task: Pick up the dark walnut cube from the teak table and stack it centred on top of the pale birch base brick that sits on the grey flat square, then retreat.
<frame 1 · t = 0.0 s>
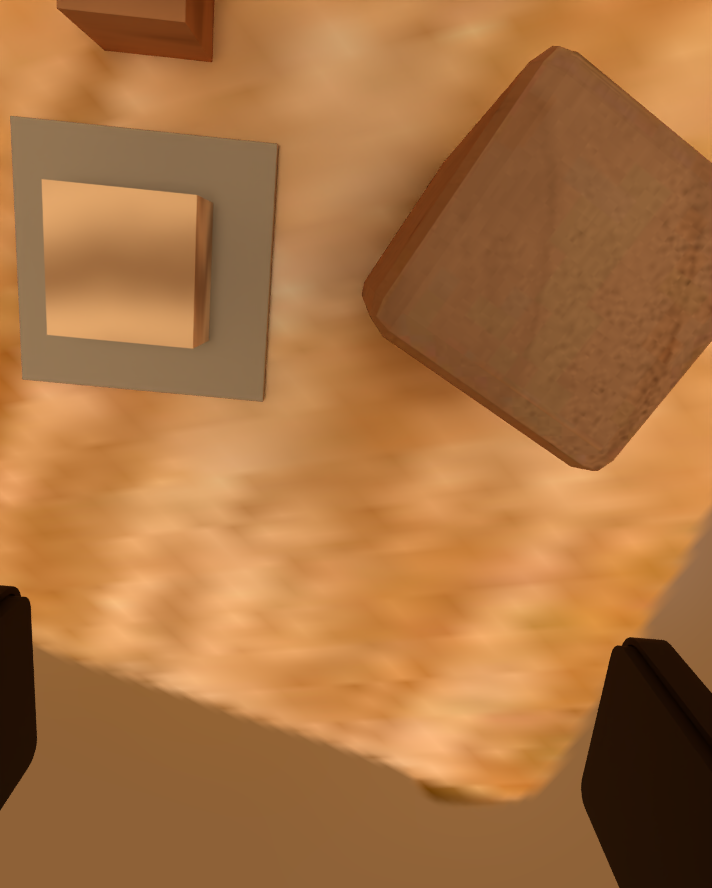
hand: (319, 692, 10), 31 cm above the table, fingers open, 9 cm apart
birch base brick: (143, 267, 37), point 1 cm above the table, touching grey flat square
wooden block: (467, 273, 39), on the table
grey flat square: (148, 267, 38), on the table
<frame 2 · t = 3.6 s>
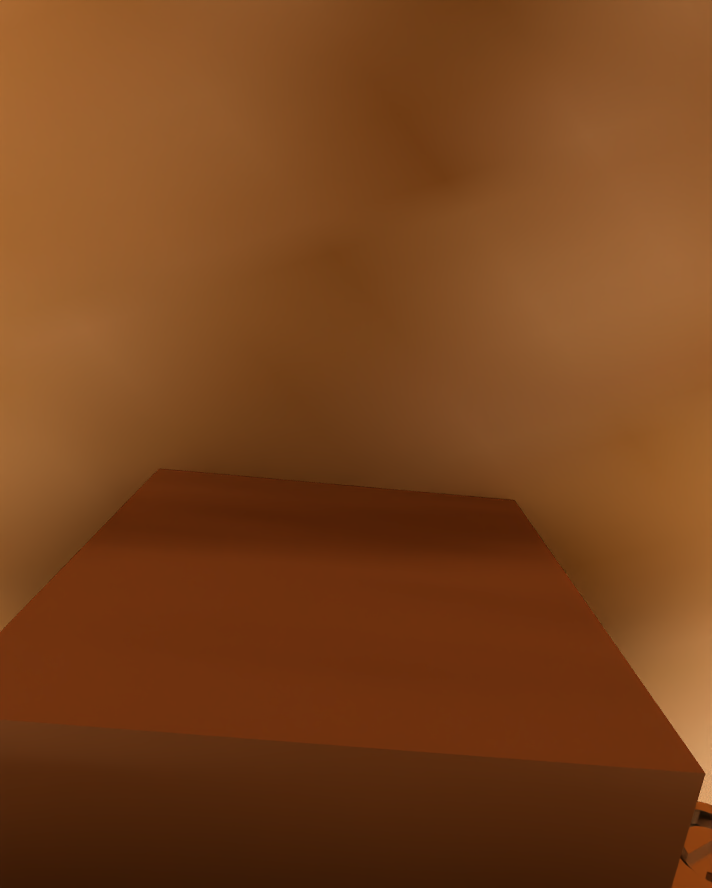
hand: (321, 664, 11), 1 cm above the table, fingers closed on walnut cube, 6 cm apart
walnut cube: (323, 640, 11), on the table, touching gripper
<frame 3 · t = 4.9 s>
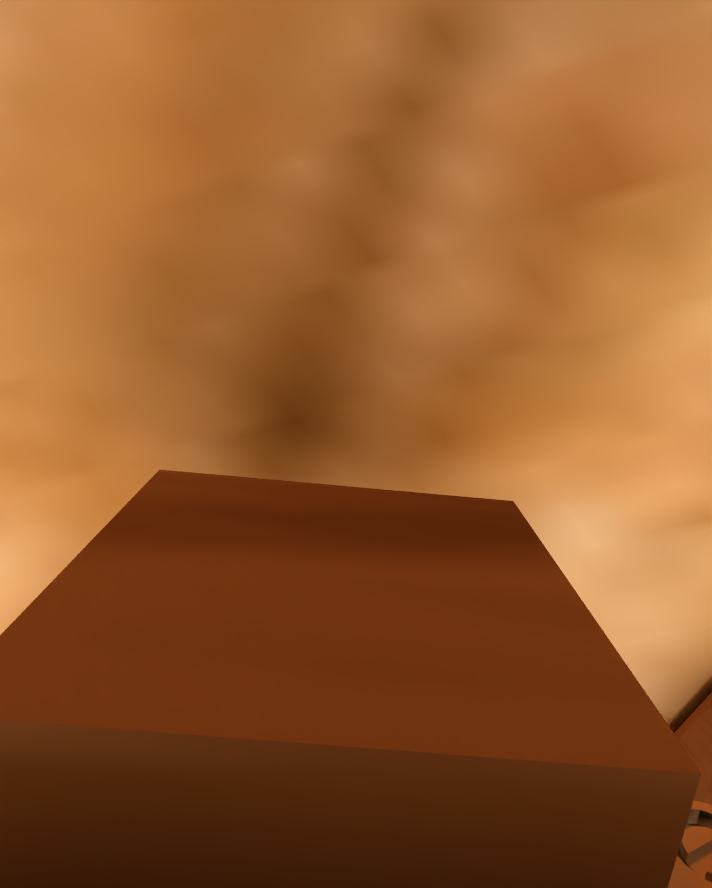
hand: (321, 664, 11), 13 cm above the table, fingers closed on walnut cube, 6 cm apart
walnut cube: (323, 641, 11), point 12 cm above the table, touching gripper
when the fingers open (7 cm above the table, at t = 8.6 s): walnut cube drops 1 cm, resting on birch base brick.
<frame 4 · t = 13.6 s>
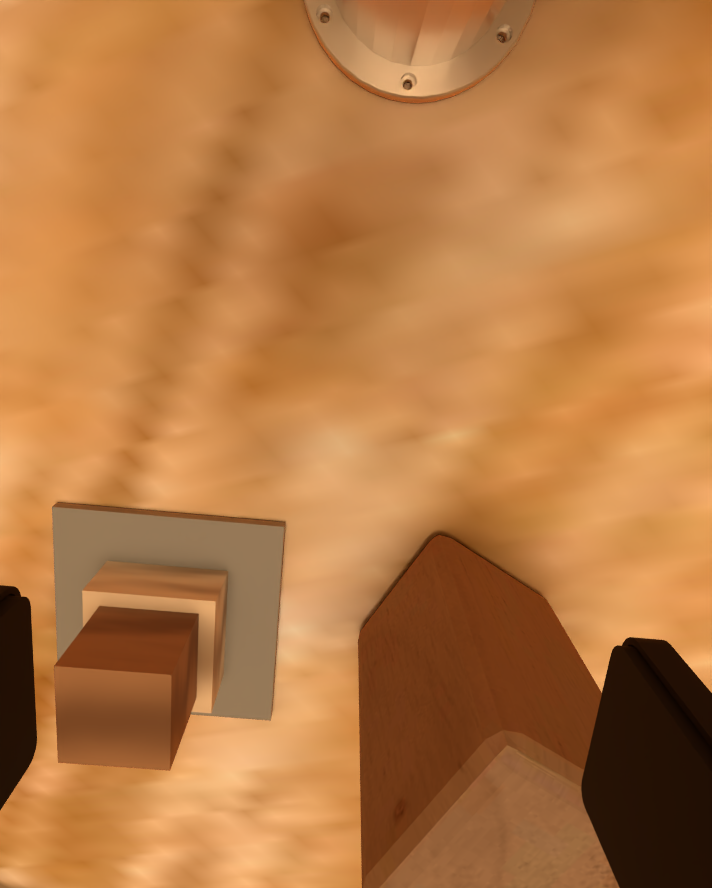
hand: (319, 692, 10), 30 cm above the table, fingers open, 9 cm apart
walnut cube: (149, 652, 39), point 5 cm above the table, touching birch base brick
birch base brick: (167, 619, 43), point 1 cm above the table, touching grey flat square, walnut cube
wooden block: (451, 615, 44), on the table
grey flat square: (170, 613, 44), on the table
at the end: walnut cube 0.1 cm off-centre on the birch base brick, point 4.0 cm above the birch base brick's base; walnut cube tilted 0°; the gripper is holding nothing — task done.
